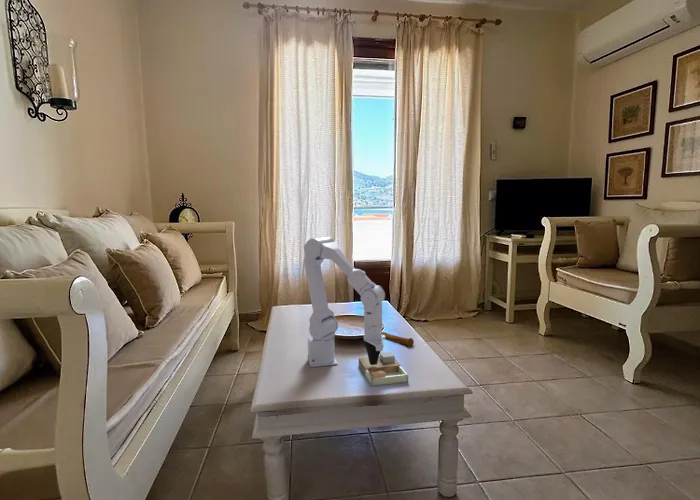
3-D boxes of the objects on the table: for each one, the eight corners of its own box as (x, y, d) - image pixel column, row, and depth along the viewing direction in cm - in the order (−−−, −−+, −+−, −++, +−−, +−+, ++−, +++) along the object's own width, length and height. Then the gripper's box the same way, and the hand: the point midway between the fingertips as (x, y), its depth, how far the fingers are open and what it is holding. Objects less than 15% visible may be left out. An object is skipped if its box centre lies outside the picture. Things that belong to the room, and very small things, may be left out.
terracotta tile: (369, 371, 126) (370, 378, 126) (373, 374, 122) (373, 380, 122) (381, 370, 127) (382, 376, 126) (385, 372, 123) (386, 379, 123)
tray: (371, 386, 121) (371, 379, 121) (365, 376, 128) (365, 369, 127) (408, 382, 124) (408, 374, 123) (400, 372, 130) (400, 365, 130)
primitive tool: (372, 336, 166) (372, 328, 166) (381, 333, 170) (381, 325, 169) (408, 348, 152) (409, 340, 152) (417, 345, 156) (417, 336, 155)
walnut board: (365, 376, 128) (365, 368, 127) (358, 365, 136) (358, 358, 136) (400, 372, 130) (400, 365, 130) (391, 361, 139) (391, 354, 139)
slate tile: (383, 362, 132) (383, 357, 132) (379, 358, 136) (379, 352, 135) (394, 361, 133) (394, 356, 132) (390, 357, 137) (390, 351, 136)
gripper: (392, 330, 121) (392, 372, 123) (378, 316, 135) (378, 354, 137) (370, 331, 120) (370, 374, 121) (358, 317, 134) (358, 356, 135)
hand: (373, 364), depth 129 cm, fingers closed
